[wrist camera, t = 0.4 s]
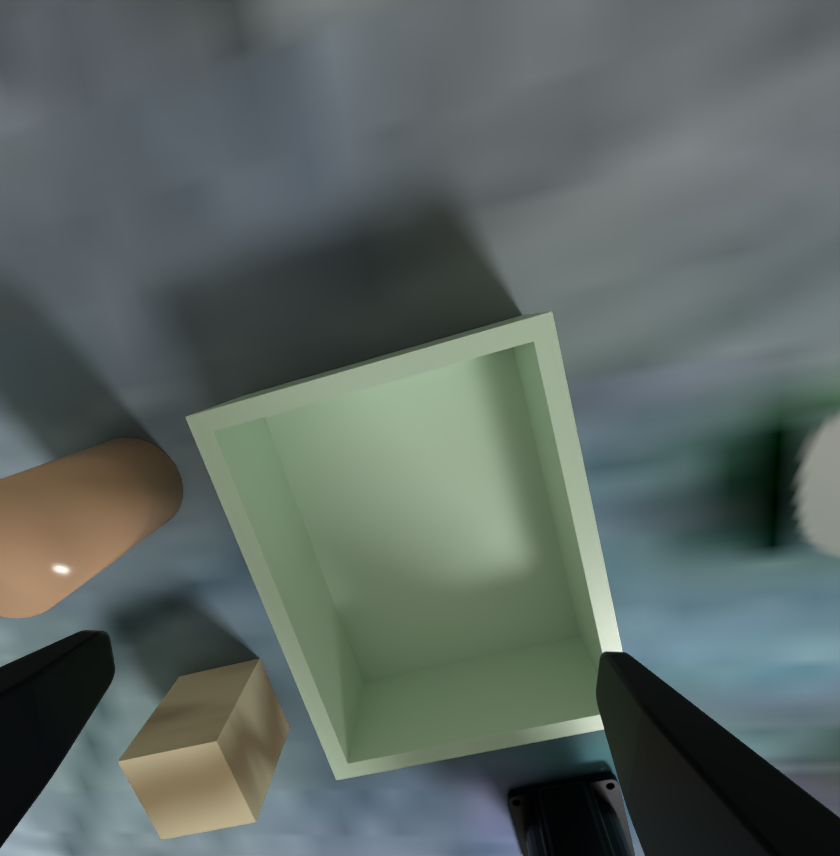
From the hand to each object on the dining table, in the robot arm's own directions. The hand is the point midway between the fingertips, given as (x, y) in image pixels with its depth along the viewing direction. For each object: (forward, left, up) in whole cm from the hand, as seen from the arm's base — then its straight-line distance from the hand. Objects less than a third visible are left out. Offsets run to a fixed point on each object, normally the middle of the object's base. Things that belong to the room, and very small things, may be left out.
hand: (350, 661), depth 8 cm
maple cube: (-12, +14, -14) cm, 23 cm away
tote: (-4, 0, -14) cm, 14 cm away
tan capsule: (+2, +14, -14) cm, 19 cm away
